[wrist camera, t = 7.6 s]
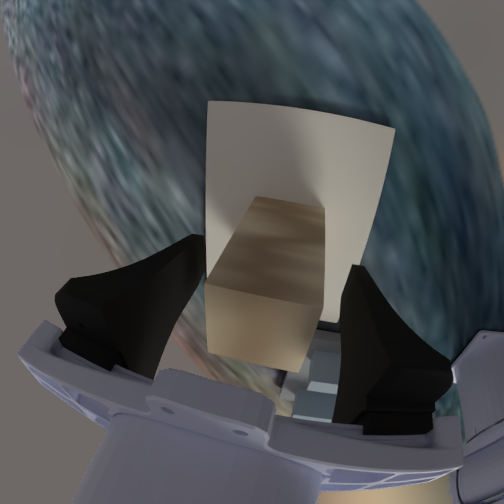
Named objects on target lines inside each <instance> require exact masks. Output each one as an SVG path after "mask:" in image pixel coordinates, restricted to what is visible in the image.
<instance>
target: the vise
mask: <svg viewBox="0 0 504 504" xmlns="http://www.w3.org/2000/svg"><path fill="white" fill-rule="evenodd" d="M340 365H341V335H340V333H335V332H329V331H323V330H318V329H316V330H315V333H314V336H313V338H312V341H311V343H310V346H309V349H308V351H307V354H306V356H305V359H304V361H303V364H302V366H301V368H300V371H299V373H297V372H291V371H287V373H286V376H285V379H284V382H283V385H282V387H281V390H280V395H279V398H281V399H287V400H293V401H294V404H293V410H292V415H291V417H292V418H298V419H305V420H312V421H320V422H328V423H331V422H332V417H333V413H334V407H335V402H336V396H337V389H338V382H339V374H340Z"/></svg>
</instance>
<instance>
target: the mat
mask: <svg viewBox="0 0 504 504" xmlns="http://www.w3.org/2000/svg"><path fill="white" fill-rule="evenodd" d="M394 134H395V129H394V128H391V127H387V126H384V125H380V124H376V123H372V122H368V121H364V120H360V119H355V118H351V117H346V116H342V115H337V114H331V113H326V112H321V111H315V110H309V109H302V108H295V107H288V106H280V105H271V104H260V103H248V102H233V101H208V111H207V140H206V261H207V278H208V276H209V274H210V273H211V271H212V269H213V267H214V266H215V264H216V262H217V260H218V259H219V257H220V255H221V254H222V252H223V250H224V248H225V247H226V245H227V243H228V242H229V240H230V238H231V237H232V235H233V233H234V231H235V230H236V228H237V226H238V225H239V223H240V221H241V220H242V218H243V216H244V215H245V213H246V211H247V210H248V208H249V206H250V205H251V203H252V201H253V200H254V198H255V196H260V197H266V198H272V199H278V200H284V201H289V202H294V203H300V204H305V205H310V206H315V207H320V208H325V284H324V307H323V311H322V314H321V317H320V319H319V320H322V321H328V322H333V323H337V322H338V319H339V317H340V301H341V295H342V292H343V289H344V286H345V283H346V281H347V278H348V275H349V272H350V269H351V266H352V264H355V265H359V264H360V261H361V258H362V255H363V252H364V249H365V246H366V243H367V240H368V237H369V233H370V230H371V227H372V223H373V220H374V217H375V213H376V210H377V206H378V202H379V199H380V195H381V191H382V187H383V183H384V179H385V175H386V171H387V167H388V163H389V158H390V154H391V149H392V144H393V139H394Z"/></svg>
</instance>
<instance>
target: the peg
mask: <svg viewBox="0 0 504 504" xmlns="http://www.w3.org/2000/svg"><path fill="white" fill-rule="evenodd" d="M324 284H325V208H320V207H315V206H310V205H305V204H300V203H294V202H289V201H284V200H278V199H272V198H266V197H260V196H255V198H254V200H253V201H252V203H251V205H250V206H249V208H248V210H247V211H246V213H245V215H244V216H243V218H242V220H241V221H240V223H239V225H238V226H237V228H236V230H235V231H234V233H233V235H232V237H231V238H230V240H229V242H228V243H227V245H226V247H225V248H224V250H223V252H222V254H221V255H220V257H219V259H218V260H217V262H216V264H215V266H214V267H213V269H212V271H211V273H210V274H209V276H208V278H207V280H206V281H205V283H204V286H205V310H206V329H207V345H208V352H209V353H213V354H217V355H221V356H224V357H228V358H232V359H236V360H240V361H244V362H249V363H253V364H257V365H262V366H266V367H271V368H276V369H281V370H286V371H291V372H297V373H299V371H300V368H301V366H302V364H303V361H304V359H305V356H306V354H307V351H308V349H309V346H310V343H311V341H312V338H313V336H314V333H315V330H316V328H317V325H318V322H319V319H320V317H321V314H322V311H323V307H324Z"/></svg>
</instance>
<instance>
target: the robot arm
mask: <svg viewBox="0 0 504 504" xmlns="http://www.w3.org/2000/svg"><path fill="white" fill-rule="evenodd" d="M204 271H205V252H204V236H202V235H197V234H191V235H189V236H187V237H185V238H183V239H182V240H180V241H178V242H176V243H174V244H172V245H171V246H169V247H167V248H165V249H163V250H161V251H159V252H157V253H155V254H153V255H151V256H149V257H147V258H145V259H143V260H141V261H138V262H136V263H133V264H131V265H128V266H125V267H122V268H119V269H116V270H113V271H109V272H105V273H101V274H96V275H91V276H84V277H77V278H71V279H70V280H69V281H68V282H67V283H66V284H65V285H64V286H63V287H62V288H61V289H60V290H59V291H58V292H57V293H56V294H55V303H56V306H57V309H58V311H59V313H60V315H61V317H62V319H63V321H64V323H65V325H66V327H67V328H66V329H65V331H64V332H63V331H62V330H61V329H60V328H59V327H57V326H55V325H54V324H52V323H50V322H49V321H47V320H44V321H43V322H42V323H41V324H40V326H39V327H38V328H37V329H36V330H35V332H34V333H33V334H32V335H31V336H30V338H29V339H28V340H27V341H26V343H25V344H24V345H23V346H22V348H21V349H20V351H19V352H18V353H17V355H18V357H19V358H20V360H21V361H22V362H23V363H24V365H25V366H26V367H27V368H28V369H29V370H30V372H31V373H32V374H33V376H34V377H35V378H36V379H37V380H38V381H39V382H40V383H41V384H42V385H43V386H44V387H46V388H47V389H48V390H50V391H51V392H52V393H54V394H55V395H56V396H58V397H59V398H61V399H62V400H63V401H65V402H66V403H68V404H69V405H70V406H72V407H73V408H75V409H76V410H78V411H79V412H80V413H82V414H84V415H85V416H86V417H89V418H90V419H91V420H93V421H94V422H96V423H97V424H99V425H101V426H102V427H104V428H106V429H107V432H106V434H105V435H104V437H103V439H102V441H101V443H100V445H99V447H98V449H97V451H96V453H95V455H94V457H93V459H92V461H91V463H90V465H89V467H88V469H87V471H86V473H85V475H84V477H83V479H82V481H81V483H80V485H79V487H78V489H77V491H76V493H75V495H74V497H73V500H72V502H71V504H318V500H319V494H320V491H359V490H372V489H383V488H391V487H399V486H406V485H413V484H420V483H425V482H430V481H432V480H435V479H437V478H439V477H441V476H444V475H446V474H448V473H450V476H449V493H450V497H451V500H452V502H453V504H504V495H503V496H501V497H498V498H496V499H494V500H491V501H487V502H486V501H483V500H486V499H488V498H490V497H493V496H495V495H498V494H500V493H502V492H504V332H495V331H485V330H481V331H479V332H478V333H477V334H476V336H475V337H474V338H473V339H472V341H471V342H470V343H469V345H468V346H467V347H466V348H465V350H464V351H463V352H462V353H461V354H460V356H459V357H458V358H457V359H456V360H455V362H454V363H453V364H452V365H451V364H450V361H449V359H448V358H446V357H445V356H443V355H442V354H440V353H439V352H437V351H436V350H435V349H433V348H432V347H431V346H430V345H428V344H427V343H426V342H425V341H423V340H422V339H421V338H420V337H419V336H418V335H417V334H416V333H415V332H414V331H413V330H412V329H411V328H409V326H408V325H407V324H406V323H405V322H404V321H403V320H402V319H401V318H400V317H399V315H398V314H397V313H396V312H395V311H394V309H393V308H392V307H391V305H390V304H389V303H388V301H387V300H386V299H385V297H384V296H383V294H382V293H381V291H380V290H379V288H378V287H377V285H376V284H375V282H374V281H373V279H372V277H371V276H370V274H369V273H368V271H367V270H366V268H365V267H364V266H360V265H355V264H352V266H351V269H350V272H349V275H348V278H347V281H346V283H345V286H344V289H343V292H342V295H341V301H340V335H341V365H340V374H339V382H338V389H337V396H336V402H335V407H334V413H333V417H332V422H331V423H328V422H320V421H312V420H305V419H298V418H292V417H286V416H280V415H275V412H276V408H275V404H274V402H273V401H272V400H271V399H269V398H268V397H267V396H265V395H264V394H262V393H259V392H256V391H253V390H250V389H247V388H243V387H238V386H234V385H230V384H227V383H223V382H219V381H215V380H212V379H208V378H205V377H201V376H198V375H195V374H191V373H188V372H185V371H182V370H176V369H171V368H169V369H164V370H161V371H159V372H158V374H157V376H156V378H155V380H154V376H155V373H156V370H157V367H158V365H159V362H160V359H161V356H162V354H163V351H164V348H165V346H166V344H167V341H168V339H169V336H170V334H171V332H172V330H173V327H174V325H175V323H176V321H177V320H178V318H179V316H180V314H181V313H182V311H183V309H184V308H185V306H186V305H187V303H188V301H189V300H190V298H191V296H192V295H193V293H194V291H195V290H196V288H197V286H198V285H199V282H200V280H201V278H202V275H203V273H204ZM452 383H457V387H458V392H459V397H460V402H461V408H462V414H463V421H464V428H465V436H466V444H465V445H463V446H462V438H461V429H460V421H459V416H457V415H455V416H442V417H437V418H434V419H432V413H433V412H434V411H435V402H436V401H437V400H438V399H439V398H440V397H442V396H443V395H444V394H445V393H446V392H447V391H448V389H449V388H450V387H451V386H452Z"/></svg>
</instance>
